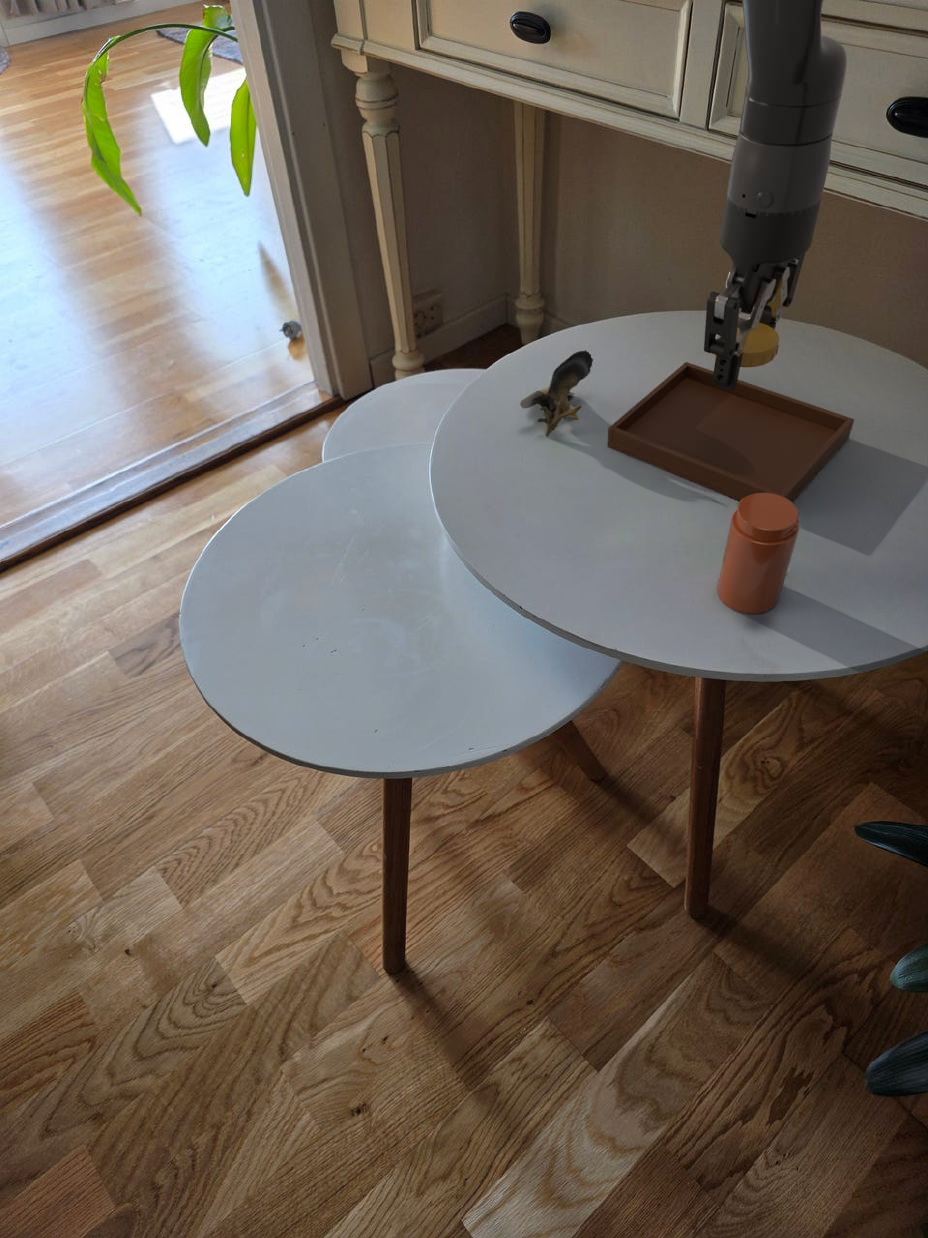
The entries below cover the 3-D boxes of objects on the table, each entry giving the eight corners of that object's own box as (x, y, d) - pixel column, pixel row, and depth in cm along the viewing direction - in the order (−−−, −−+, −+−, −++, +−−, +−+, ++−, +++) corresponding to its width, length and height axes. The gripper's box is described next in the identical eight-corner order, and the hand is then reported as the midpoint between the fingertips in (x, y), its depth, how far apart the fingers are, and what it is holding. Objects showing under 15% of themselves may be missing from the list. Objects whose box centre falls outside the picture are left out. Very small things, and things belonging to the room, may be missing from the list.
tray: (848, 437, 89) (854, 418, 87) (778, 517, 81) (783, 498, 80) (683, 379, 98) (685, 361, 96) (606, 446, 90) (608, 427, 89)
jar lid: (697, 349, 83) (699, 334, 82) (742, 327, 85) (744, 313, 84) (744, 375, 79) (747, 360, 78) (790, 352, 81) (793, 337, 80)
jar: (790, 588, 75) (814, 506, 68) (761, 623, 73) (783, 542, 66) (735, 563, 78) (753, 481, 71) (705, 596, 75) (721, 515, 68)
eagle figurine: (601, 431, 90) (608, 371, 95) (564, 386, 86) (573, 325, 90) (541, 455, 95) (550, 397, 99) (502, 414, 91) (514, 354, 95)
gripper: (773, 151, 76) (741, 327, 89) (688, 211, 69) (666, 393, 82) (856, 168, 73) (811, 349, 85) (775, 233, 66) (739, 419, 78)
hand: (740, 370), depth 83 cm, fingers closed on jar lid, 6 cm apart
